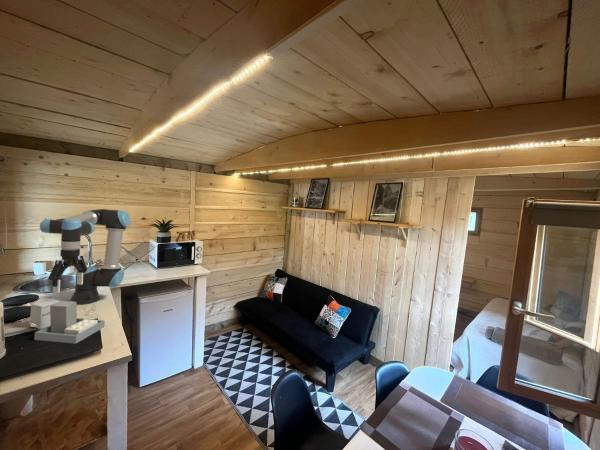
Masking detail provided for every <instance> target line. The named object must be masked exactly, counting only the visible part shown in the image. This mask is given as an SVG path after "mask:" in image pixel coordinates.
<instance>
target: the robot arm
mask: <svg viewBox="0 0 600 450" xmlns="http://www.w3.org/2000/svg"><path fill="white" fill-rule="evenodd" d="M130 224H131V217H130V215H129V213H128V212H127V211H124V210H120V209H119V210H118V209H105V208H97V209H90V210H86V211H83V212H82V213H79V214H75V215H71V216H67V217H63V218H57V219H51V218H49V219H43V220H41V222H40V224H39V230H40V232H42V233H46V234H55V235H56V234H57V235H61V240H60V242H61V243H60V248H61V249H60V256H59V257H61V259H55V262H54V265H53V268H52V269H51V272H50V274H49V275H48V277H47V280H49V281H52V284H51V285H52V293H55V294H56V293H58V294H60V292H61V291H60V290H61V279H60V278H61V277H62V275H63V274H64V272H65V271H66V270H67V269H68V268H70V267H74V268H75V269H76V272H75V281H74V282H75V285H74V292H73V294H72V296H71V298H70V302H76V305H88V304H92V303H93V302H94V303H96V302H99V301H100V294H99V291H98V287H105V288H106V287H108V288H111V287H112V288H113V287H114V288H116V287H118V286H120V285H121V283H122V282H123V280H124V276H125V271H124V270H123V269H122V266H121V265H120V258H121V250H122V243H123V242H122V241H123V235H124V233H123V232H124V231H126V230H127V228H129V227H130ZM96 226H105V230H107V237H106V245H105V252H104V253H105V254H104V261H103V262H104V263H103V265H101V267H100V268H99V267H98V266H87V264H86V261H85V260H84V255H81V250H80V249H81V239H82V237H81V236H88V235H91V234H93V233H94V231H95V229H96V228H95V227H96Z"/></svg>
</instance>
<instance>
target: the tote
mask: <svg viewBox="0 0 600 450" xmlns="http://www.w3.org/2000/svg"><path fill="white" fill-rule="evenodd" d="M84 319H85V318H82V317H81V318H80V317H77V323H78V322H80V321H82V320H84ZM88 319H89V320H95V318H94V319H92V318H91V319H90V318H88ZM97 320H98V323H97V324H95V325H94V326H92V327H90V328H88V329H86V330H84V331H83V332H81V333H79V334H77V335H70V334H59V333H51V325H50V326H48V327H45V328H42V329H38V330H37V331H35V332H34V337H33V339H34V341H41V342H52V343H53V342H54V343H62V344H63V343H65V344H74V345H76V344H78V343H80V342H81V341H84V339H86V338H88V337H89V336H92V335H93V334H94V333H97V332H98V331H101V330H102V329H103V328H105V320H104V319H97Z"/></svg>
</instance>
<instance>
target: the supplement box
mask: <svg viewBox="0 0 600 450" xmlns="http://www.w3.org/2000/svg"><path fill="white" fill-rule="evenodd" d="M55 303H58V302H57V301H53V300H43V301H39V302H36V303H32V304H31V305H30V316H29V323H30V322H31V323H34V324H36V325H37V327H38V329H37V330H41V329H44V328H46V327H48V326H50V325H51V324H50V306H51V305H53V304H55Z"/></svg>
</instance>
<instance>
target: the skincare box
mask: <svg viewBox="0 0 600 450" xmlns="http://www.w3.org/2000/svg"><path fill="white" fill-rule="evenodd" d="M77 313H78V312H77V304H76V302H71V300H70V301H67V300H61V301H58V302H57V303H55V304H53V305H51V306H50V324H51V333H59V334H64V330H65V329H66V328H68V327H70V326H72V325H74V324H76V323H77V318H78V317H77Z"/></svg>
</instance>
